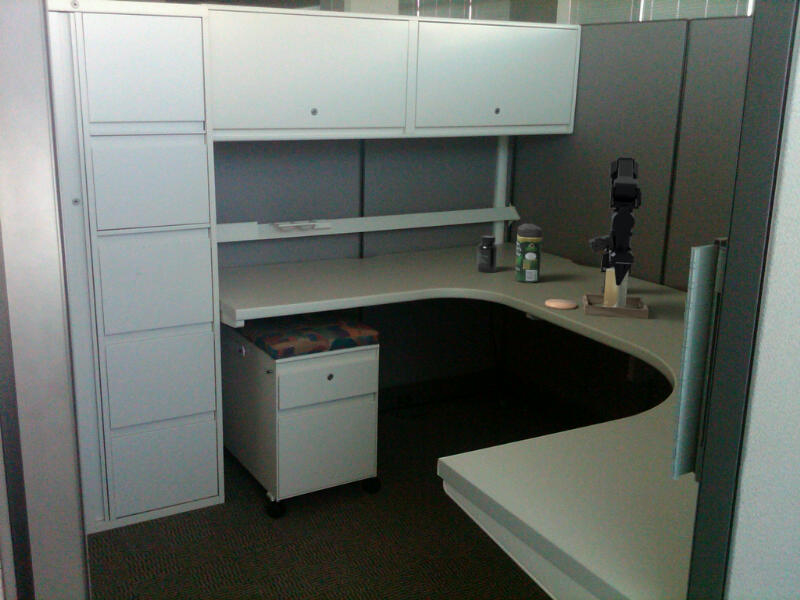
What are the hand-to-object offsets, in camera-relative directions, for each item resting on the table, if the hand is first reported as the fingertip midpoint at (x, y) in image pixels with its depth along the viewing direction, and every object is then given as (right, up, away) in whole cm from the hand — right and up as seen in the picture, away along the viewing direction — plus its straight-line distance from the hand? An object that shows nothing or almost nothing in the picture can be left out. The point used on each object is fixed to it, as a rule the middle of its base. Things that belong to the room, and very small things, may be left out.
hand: (616, 281), depth 228 cm
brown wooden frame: (0, -8, +2) cm, 8 cm away
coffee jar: (-20, +1, +38) cm, 43 cm away
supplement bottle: (-31, +5, +51) cm, 60 cm away
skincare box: (0, -8, +2) cm, 9 cm away
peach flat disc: (-15, -7, +5) cm, 17 cm away
